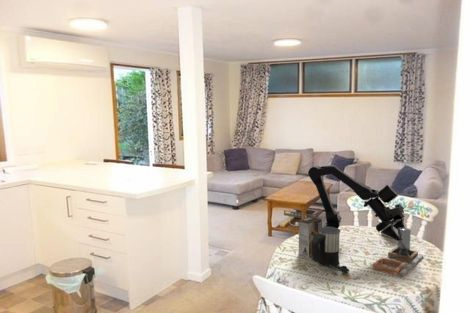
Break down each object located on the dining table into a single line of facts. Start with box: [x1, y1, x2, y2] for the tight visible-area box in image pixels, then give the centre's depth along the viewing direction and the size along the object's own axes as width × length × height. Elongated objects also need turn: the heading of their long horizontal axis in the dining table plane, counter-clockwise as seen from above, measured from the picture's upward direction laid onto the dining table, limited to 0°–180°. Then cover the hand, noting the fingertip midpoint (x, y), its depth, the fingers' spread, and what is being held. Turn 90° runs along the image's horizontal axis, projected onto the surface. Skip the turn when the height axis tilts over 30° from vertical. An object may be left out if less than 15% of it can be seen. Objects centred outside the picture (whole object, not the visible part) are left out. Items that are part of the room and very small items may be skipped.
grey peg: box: [396, 227, 412, 257], centre depth 163 cm, size 5×5×12 cm
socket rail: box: [372, 246, 424, 278], centre depth 157 cm, size 27×12×2 cm, turn 137°
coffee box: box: [298, 216, 323, 259], centre depth 167 cm, size 9×6×16 cm
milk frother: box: [311, 226, 350, 274], centre depth 153 cm, size 14×16×15 cm
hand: (403, 237), depth 163 cm, fingers open, 9 cm apart
